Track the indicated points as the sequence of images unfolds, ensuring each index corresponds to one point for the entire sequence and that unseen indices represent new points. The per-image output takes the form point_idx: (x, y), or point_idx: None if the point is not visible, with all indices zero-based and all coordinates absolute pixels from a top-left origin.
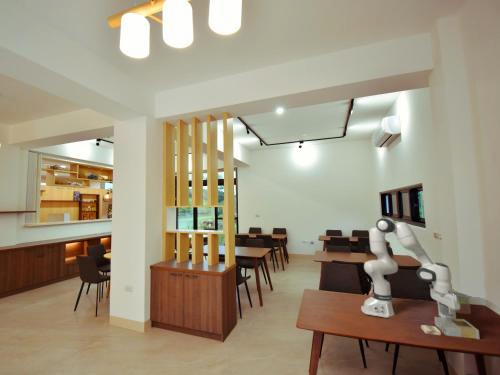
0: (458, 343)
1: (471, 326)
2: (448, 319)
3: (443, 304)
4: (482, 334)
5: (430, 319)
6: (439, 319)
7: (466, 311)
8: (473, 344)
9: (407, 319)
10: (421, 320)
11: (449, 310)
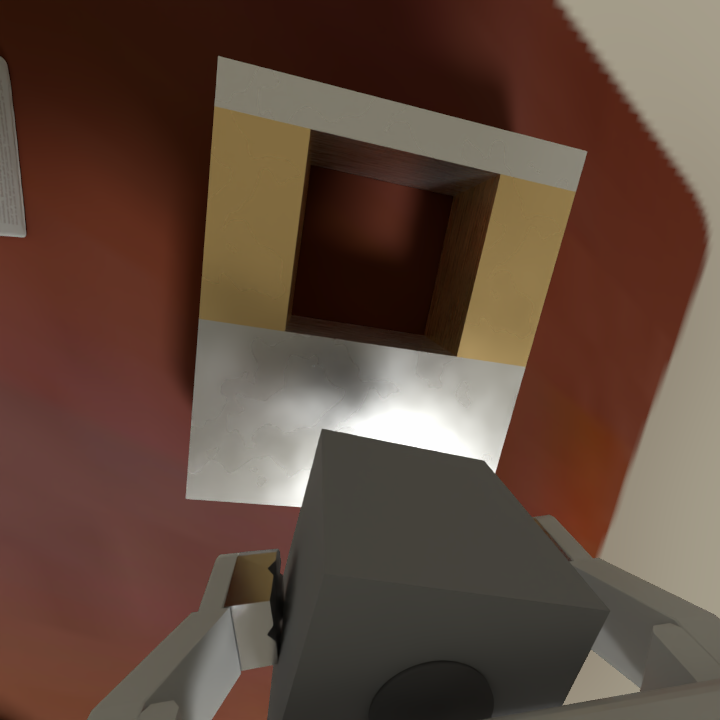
0: (572, 446)
1: (476, 161)
2: (257, 352)
3: (332, 717)
4: (421, 31)
5: (71, 423)
6: (276, 479)
7: None
8: (599, 329)
9: (135, 650)
10: (129, 533)
11: (613, 643)
